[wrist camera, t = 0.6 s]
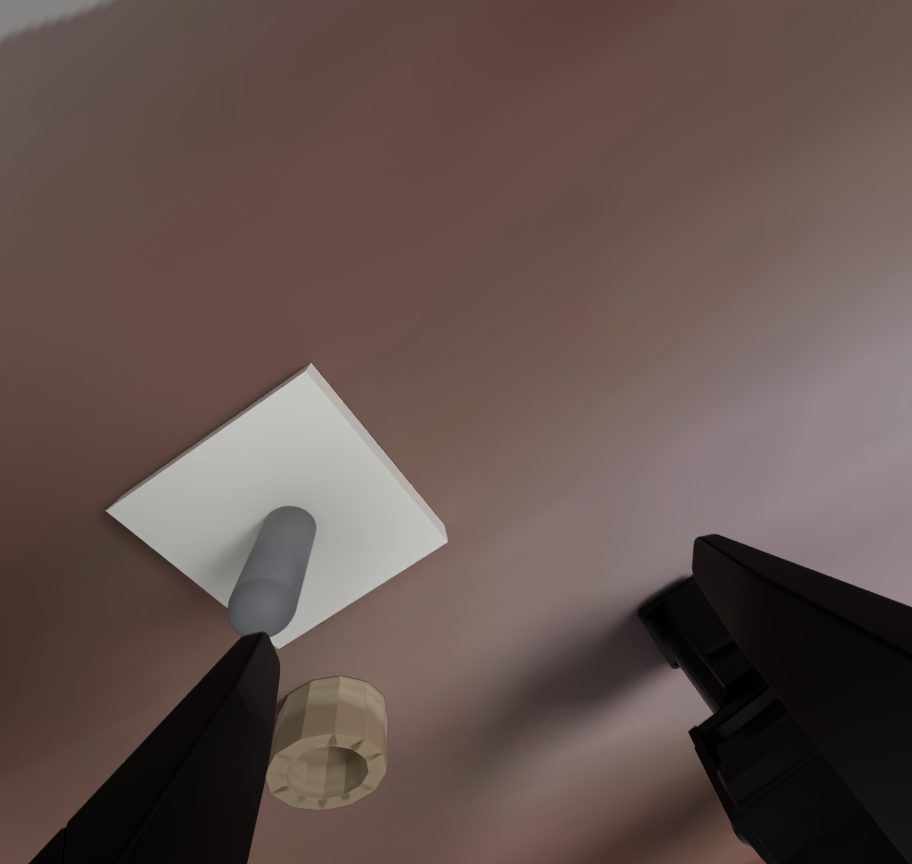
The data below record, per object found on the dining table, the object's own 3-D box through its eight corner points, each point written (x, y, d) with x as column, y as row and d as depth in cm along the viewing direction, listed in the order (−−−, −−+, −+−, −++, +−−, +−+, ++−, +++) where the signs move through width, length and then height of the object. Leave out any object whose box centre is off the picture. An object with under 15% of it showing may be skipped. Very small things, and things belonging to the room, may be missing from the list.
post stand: (444, 525, 24) (468, 638, 17) (284, 627, 25) (244, 774, 18) (310, 362, 20) (269, 423, 13) (124, 493, 21) (-12, 617, 14)
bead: (405, 714, 29) (407, 771, 26) (326, 761, 30) (318, 823, 26) (342, 661, 27) (336, 716, 23) (257, 713, 27) (240, 775, 24)
